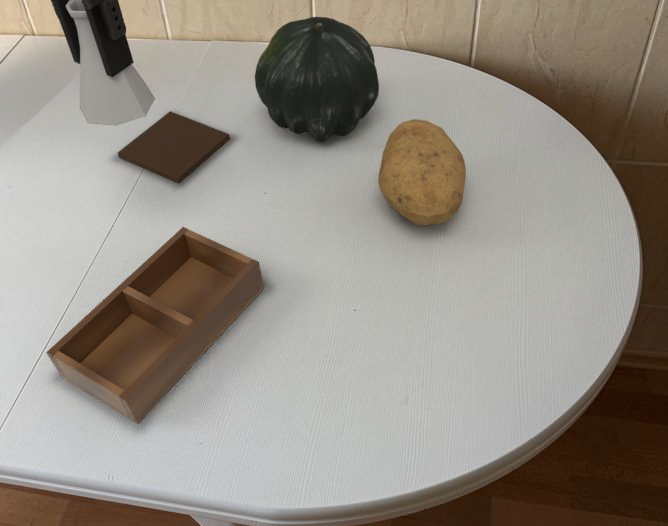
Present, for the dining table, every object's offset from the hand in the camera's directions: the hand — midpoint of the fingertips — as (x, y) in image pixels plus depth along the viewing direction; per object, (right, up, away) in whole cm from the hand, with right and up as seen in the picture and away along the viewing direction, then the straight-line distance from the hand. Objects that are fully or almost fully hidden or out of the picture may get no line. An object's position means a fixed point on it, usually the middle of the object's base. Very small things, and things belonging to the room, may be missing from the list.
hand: (103, 61), depth 64 cm
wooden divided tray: (+4, -24, +7) cm, 26 cm away
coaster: (+1, -1, +25) cm, 25 cm away
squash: (+19, +3, +27) cm, 33 cm away
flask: (0, -3, +4) cm, 5 cm away
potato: (+31, -10, +16) cm, 36 cm away
